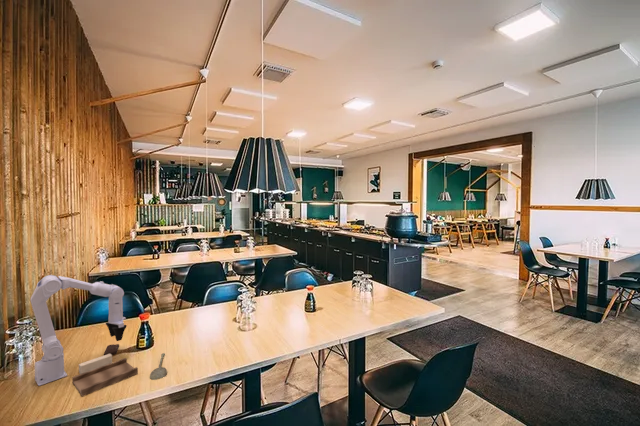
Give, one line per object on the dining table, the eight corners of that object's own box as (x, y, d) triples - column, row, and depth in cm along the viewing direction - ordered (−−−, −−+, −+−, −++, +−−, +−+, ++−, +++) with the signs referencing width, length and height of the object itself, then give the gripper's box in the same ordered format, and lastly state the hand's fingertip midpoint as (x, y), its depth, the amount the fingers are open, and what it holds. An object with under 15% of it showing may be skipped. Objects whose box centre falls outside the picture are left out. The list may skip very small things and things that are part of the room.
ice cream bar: (114, 359, 147) (119, 346, 161) (114, 356, 147) (119, 343, 161) (101, 361, 145) (107, 348, 159) (101, 358, 145) (107, 345, 158)
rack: (82, 396, 119) (81, 390, 119) (72, 383, 127) (72, 377, 127) (137, 373, 134) (137, 368, 134) (125, 363, 143) (125, 357, 143)
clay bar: (80, 375, 134) (80, 366, 134) (78, 372, 136) (78, 364, 135) (112, 363, 143) (112, 355, 143) (110, 361, 145) (109, 353, 145)
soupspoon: (148, 383, 129) (165, 381, 131) (148, 376, 129) (166, 373, 131) (156, 357, 149) (170, 355, 152) (156, 350, 149) (171, 348, 152)
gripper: (130, 311, 147) (131, 339, 147) (119, 305, 156) (119, 331, 156) (113, 316, 141) (114, 344, 142) (103, 309, 150) (103, 336, 151)
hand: (116, 338), depth 149 cm, fingers open, 7 cm apart
